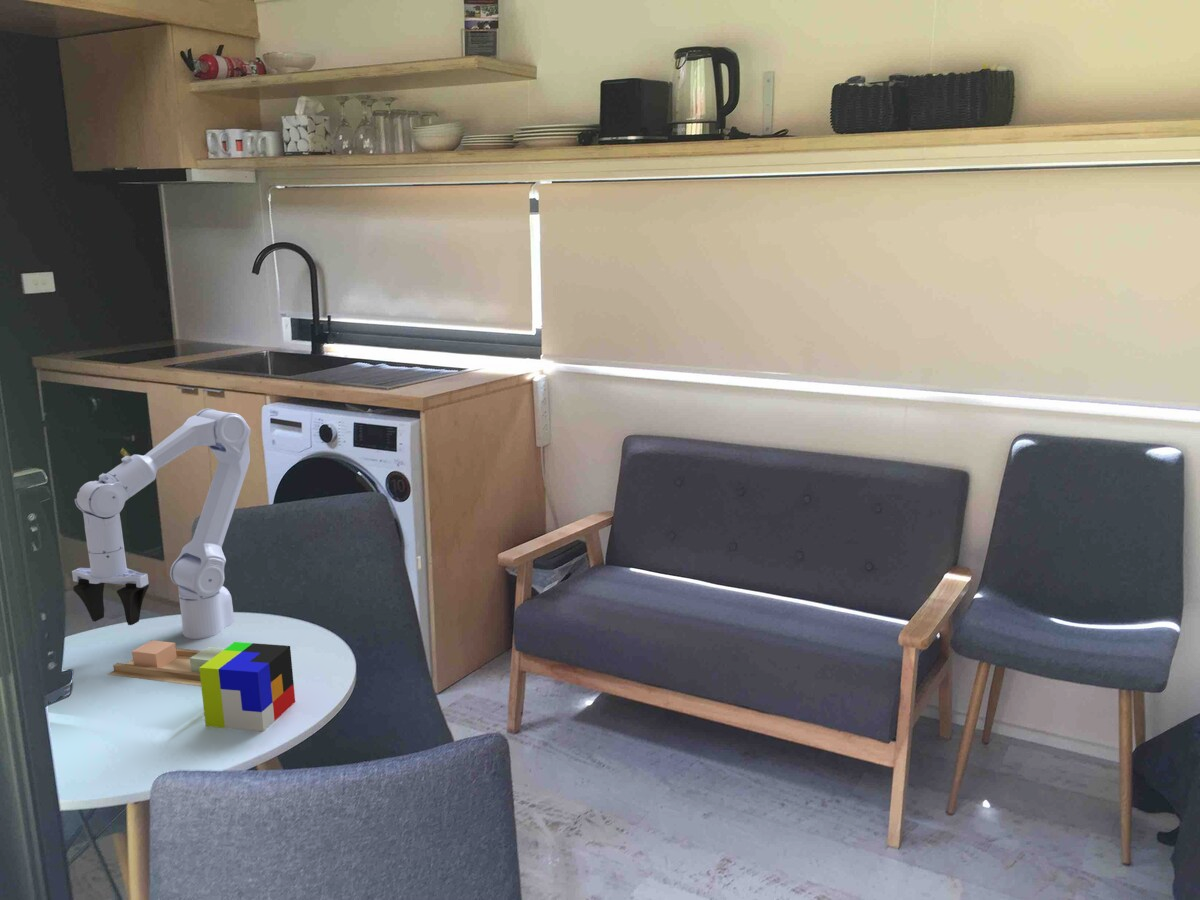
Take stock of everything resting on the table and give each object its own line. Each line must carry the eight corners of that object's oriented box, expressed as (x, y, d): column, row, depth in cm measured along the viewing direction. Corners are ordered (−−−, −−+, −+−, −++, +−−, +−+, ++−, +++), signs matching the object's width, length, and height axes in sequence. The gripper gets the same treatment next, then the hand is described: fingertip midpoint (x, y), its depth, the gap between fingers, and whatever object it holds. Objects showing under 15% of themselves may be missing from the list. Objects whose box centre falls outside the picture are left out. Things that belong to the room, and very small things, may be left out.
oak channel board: (156, 652, 185) (153, 631, 184) (278, 666, 177) (276, 644, 177) (108, 680, 173) (105, 658, 172) (236, 696, 166) (234, 673, 165)
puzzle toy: (263, 731, 155) (257, 672, 152) (205, 726, 157) (199, 667, 154) (295, 702, 164) (290, 645, 162) (240, 697, 166) (234, 641, 164)
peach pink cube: (153, 655, 180) (151, 640, 180) (176, 658, 179) (175, 642, 178) (133, 667, 176) (131, 651, 175) (157, 670, 174) (155, 654, 174)
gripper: (54, 552, 173) (65, 626, 176) (124, 558, 169) (133, 633, 172) (85, 540, 180) (95, 611, 183) (152, 546, 176) (161, 618, 179)
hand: (115, 621), depth 178 cm, fingers open, 7 cm apart
